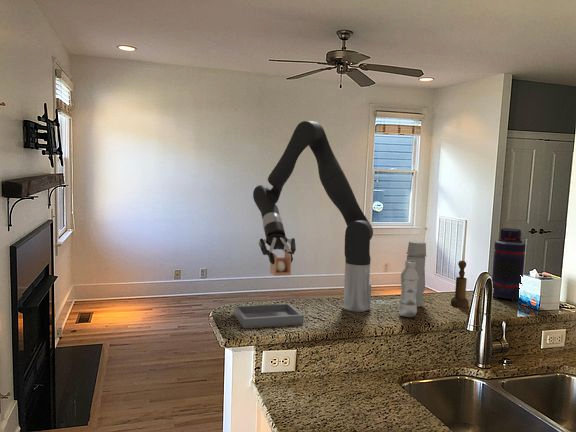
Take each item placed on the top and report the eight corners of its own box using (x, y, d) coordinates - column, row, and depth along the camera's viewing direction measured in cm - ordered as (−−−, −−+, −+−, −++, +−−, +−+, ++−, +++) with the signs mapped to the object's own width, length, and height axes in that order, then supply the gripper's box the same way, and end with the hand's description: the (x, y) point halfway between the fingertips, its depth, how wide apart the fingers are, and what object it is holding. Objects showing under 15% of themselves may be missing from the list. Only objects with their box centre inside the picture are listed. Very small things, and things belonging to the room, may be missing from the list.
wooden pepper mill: (470, 305, 185) (473, 260, 184) (466, 308, 180) (469, 262, 178) (452, 302, 189) (455, 258, 187) (449, 305, 183) (451, 260, 182)
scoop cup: (285, 271, 174) (285, 252, 174) (290, 275, 168) (291, 254, 168) (270, 272, 172) (270, 252, 172) (274, 275, 167) (275, 255, 166)
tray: (288, 311, 167) (288, 303, 166) (303, 324, 153) (303, 315, 152) (233, 314, 160) (234, 306, 160) (244, 328, 146) (244, 319, 146)
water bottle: (413, 309, 176) (417, 243, 174) (399, 303, 183) (402, 241, 181) (430, 306, 181) (434, 243, 179) (416, 301, 188) (419, 240, 186)
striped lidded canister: (520, 303, 191) (525, 231, 189) (489, 298, 197) (494, 228, 195) (522, 296, 203) (527, 228, 201) (493, 292, 209) (497, 226, 207)
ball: (283, 272, 173) (283, 261, 173) (287, 271, 169) (286, 260, 170) (273, 272, 172) (273, 261, 172) (276, 271, 168) (276, 260, 168)
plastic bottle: (414, 314, 169) (418, 260, 167) (418, 319, 162) (421, 263, 161) (396, 313, 170) (399, 259, 168) (399, 318, 163) (402, 262, 161)
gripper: (257, 220, 174) (265, 257, 163) (293, 220, 178) (303, 256, 168) (253, 233, 179) (260, 269, 169) (288, 232, 184) (298, 267, 173)
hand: (282, 262), depth 168 cm, fingers closed on scoop cup, 6 cm apart
